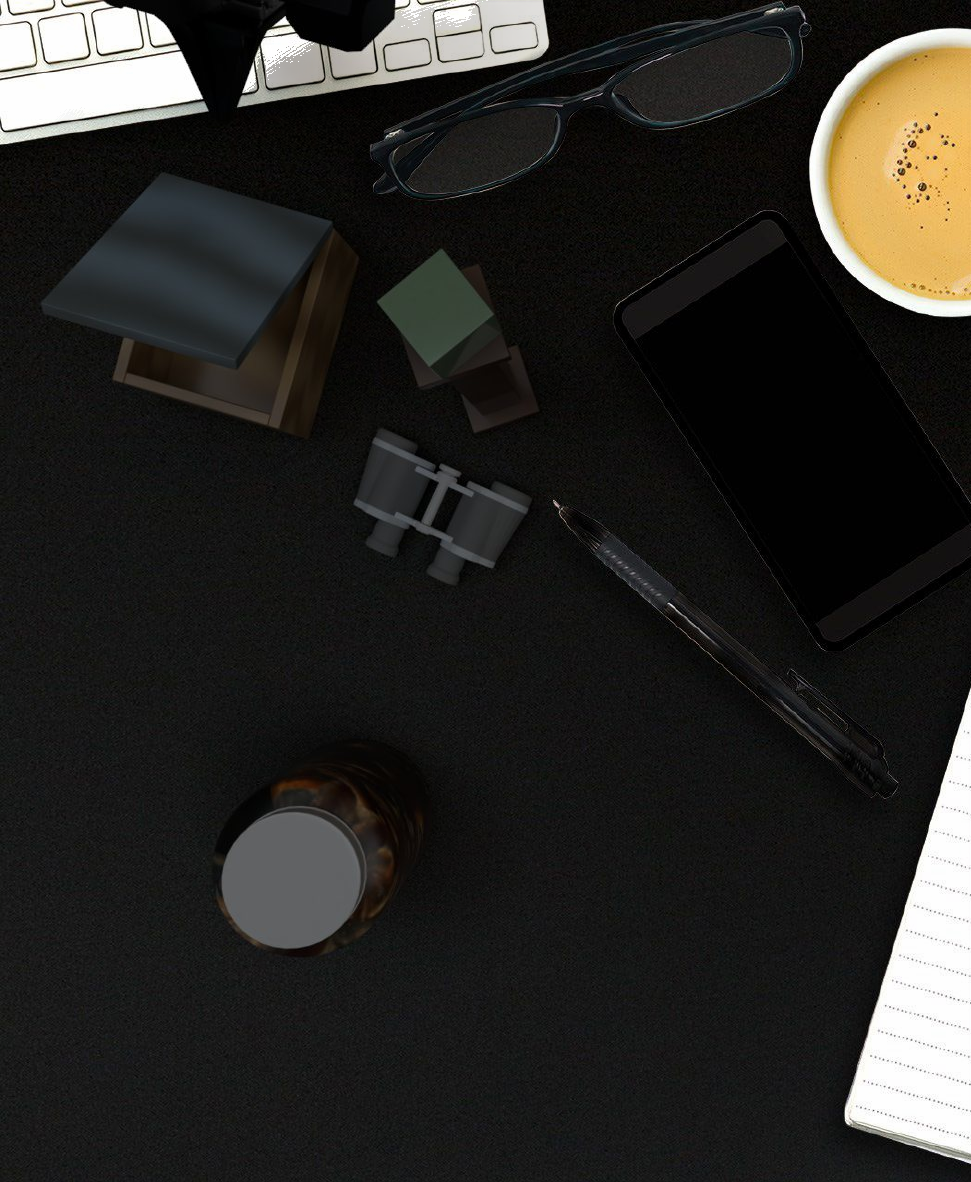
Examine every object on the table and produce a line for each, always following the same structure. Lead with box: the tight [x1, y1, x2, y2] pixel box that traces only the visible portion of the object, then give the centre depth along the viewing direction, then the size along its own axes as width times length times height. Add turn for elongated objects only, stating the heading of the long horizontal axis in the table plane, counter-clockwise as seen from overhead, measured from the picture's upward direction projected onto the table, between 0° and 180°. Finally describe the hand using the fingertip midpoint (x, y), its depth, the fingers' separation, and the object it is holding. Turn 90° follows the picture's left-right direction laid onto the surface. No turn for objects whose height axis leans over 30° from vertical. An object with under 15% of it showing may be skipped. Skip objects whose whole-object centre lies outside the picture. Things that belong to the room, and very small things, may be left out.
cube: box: [376, 248, 504, 380], centre depth 52 cm, size 4×4×4 cm
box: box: [111, 228, 360, 440], centre depth 73 cm, size 14×12×7 cm
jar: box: [211, 739, 434, 958], centre depth 70 cm, size 12×12×15 cm
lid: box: [40, 171, 334, 370], centre depth 64 cm, size 14×12×1 cm
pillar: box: [398, 263, 542, 436], centre depth 65 cm, size 5×5×22 cm
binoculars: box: [353, 427, 533, 587], centre depth 75 cm, size 12×8×4 cm, turn 65°
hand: (223, 120), depth 62 cm, fingers closed
